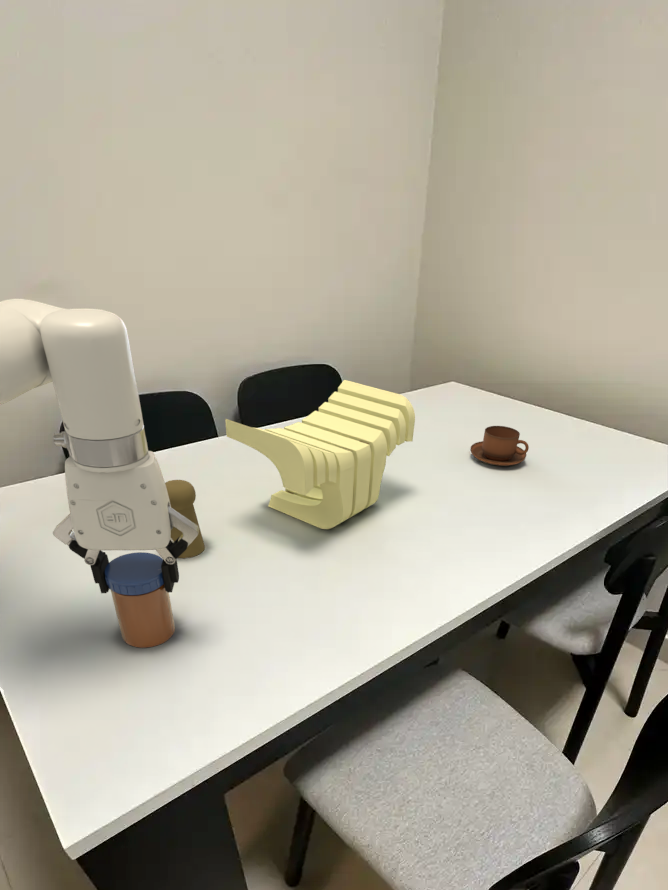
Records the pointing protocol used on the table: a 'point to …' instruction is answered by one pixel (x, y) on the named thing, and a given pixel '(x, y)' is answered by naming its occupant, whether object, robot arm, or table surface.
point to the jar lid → (134, 573)
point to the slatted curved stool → (333, 452)
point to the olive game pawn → (185, 513)
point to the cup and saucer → (500, 447)
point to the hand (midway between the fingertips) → (139, 585)
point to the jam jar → (145, 617)
